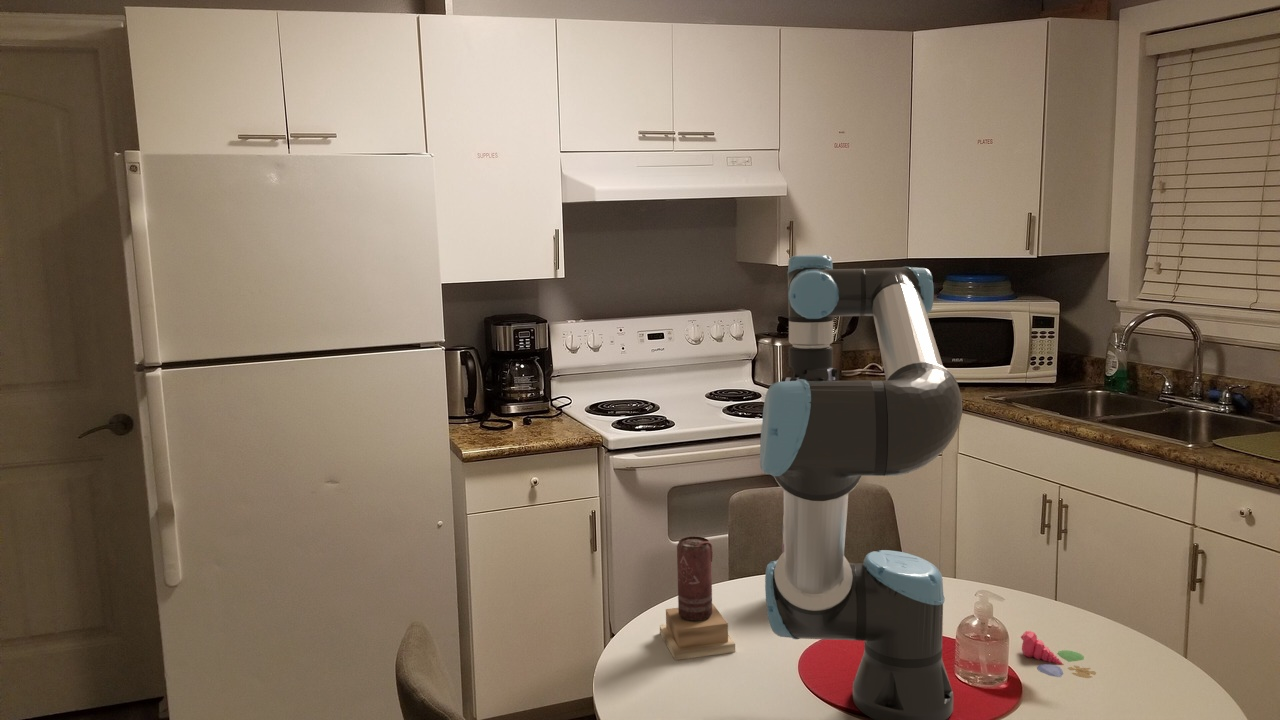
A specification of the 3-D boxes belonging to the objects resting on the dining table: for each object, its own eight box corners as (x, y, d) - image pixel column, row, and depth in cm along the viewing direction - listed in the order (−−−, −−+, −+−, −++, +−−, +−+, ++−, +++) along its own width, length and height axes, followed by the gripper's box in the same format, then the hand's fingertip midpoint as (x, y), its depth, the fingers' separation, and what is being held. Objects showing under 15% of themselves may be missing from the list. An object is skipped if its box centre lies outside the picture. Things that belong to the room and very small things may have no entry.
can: (714, 622, 163) (713, 546, 161) (679, 622, 163) (677, 547, 161) (712, 607, 169) (711, 534, 167) (678, 608, 169) (676, 535, 167)
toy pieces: (1019, 674, 152) (1019, 649, 151) (1020, 645, 162) (1021, 621, 161) (1099, 686, 147) (1101, 661, 146) (1096, 655, 157) (1097, 631, 156)
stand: (735, 651, 162) (734, 625, 161) (675, 660, 160) (674, 633, 159) (716, 625, 173) (716, 600, 172) (659, 633, 170) (659, 607, 170)
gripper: (832, 336, 169) (833, 448, 172) (747, 351, 152) (749, 476, 155) (868, 338, 164) (868, 454, 167) (784, 355, 146) (786, 484, 150)
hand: (811, 465), depth 161 cm, fingers open, 13 cm apart
